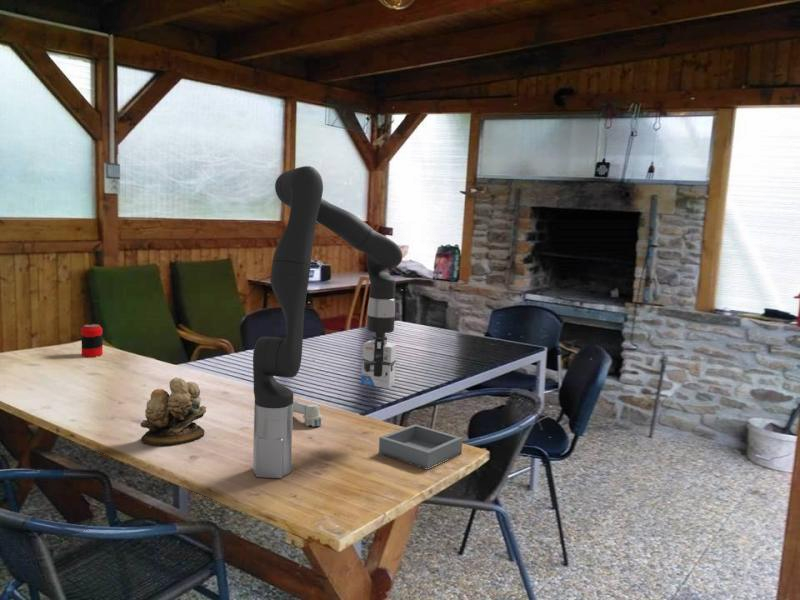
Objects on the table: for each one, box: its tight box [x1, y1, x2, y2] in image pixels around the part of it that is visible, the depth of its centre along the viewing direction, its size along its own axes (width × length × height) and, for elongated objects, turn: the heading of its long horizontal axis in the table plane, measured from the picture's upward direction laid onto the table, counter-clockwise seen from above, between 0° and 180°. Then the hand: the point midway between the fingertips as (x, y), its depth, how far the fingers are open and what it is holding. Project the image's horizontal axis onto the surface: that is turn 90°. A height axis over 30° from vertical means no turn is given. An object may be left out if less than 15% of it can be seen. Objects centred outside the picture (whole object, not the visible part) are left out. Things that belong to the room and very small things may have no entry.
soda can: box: [81, 323, 104, 358], centre depth 276 cm, size 8×8×12 cm
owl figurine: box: [140, 377, 207, 447], centre depth 190 cm, size 18×12×17 cm, turn 133°
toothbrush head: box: [293, 399, 323, 427], centre depth 215 cm, size 5×7×25 cm
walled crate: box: [378, 424, 463, 470], centre depth 189 cm, size 16×16×4 cm
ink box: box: [360, 340, 397, 389], centre depth 195 cm, size 8×5×12 cm, turn 73°
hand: (378, 373), depth 196 cm, fingers closed on ink box, 6 cm apart
